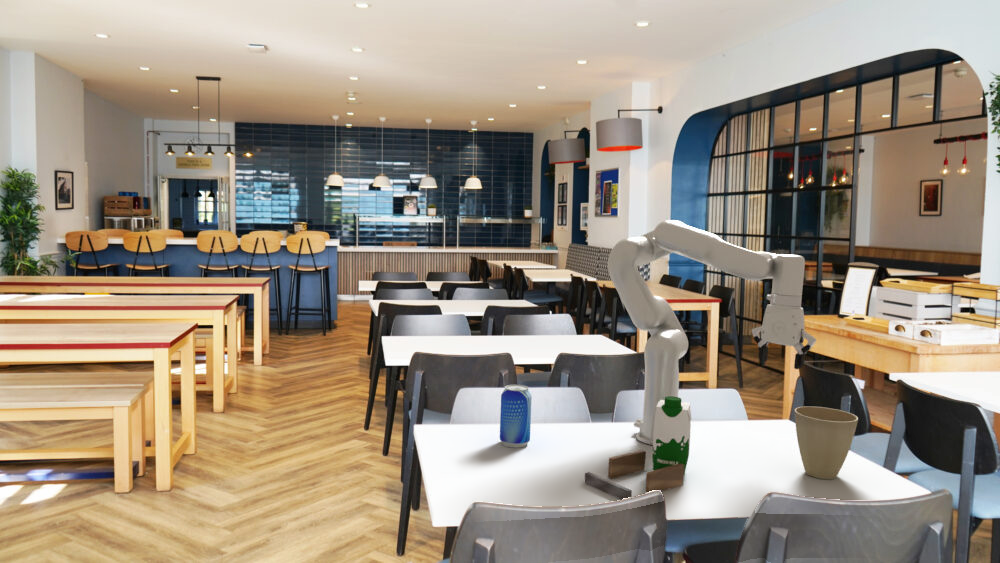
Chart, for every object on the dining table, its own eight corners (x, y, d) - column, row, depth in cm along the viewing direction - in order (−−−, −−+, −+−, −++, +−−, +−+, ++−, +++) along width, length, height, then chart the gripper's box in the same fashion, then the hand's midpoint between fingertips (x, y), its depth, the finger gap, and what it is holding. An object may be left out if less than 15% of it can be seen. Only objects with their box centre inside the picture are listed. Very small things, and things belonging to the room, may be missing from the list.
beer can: (494, 445, 210) (496, 388, 208) (506, 437, 218) (508, 382, 216) (523, 450, 207) (525, 392, 205) (533, 441, 215) (536, 386, 213)
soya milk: (649, 477, 189) (653, 398, 187) (654, 466, 197) (658, 390, 195) (685, 483, 186) (690, 402, 184) (689, 471, 194) (693, 394, 192)
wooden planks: (584, 483, 183) (585, 462, 183) (640, 468, 195) (641, 449, 195) (627, 501, 172) (628, 480, 172) (683, 485, 184) (685, 465, 184)
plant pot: (848, 489, 185) (853, 425, 184) (784, 476, 193) (789, 414, 191) (857, 472, 198) (861, 412, 196) (796, 460, 206) (800, 403, 204)
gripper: (748, 297, 205) (743, 360, 206) (812, 306, 192) (806, 373, 194) (761, 296, 210) (756, 357, 212) (824, 304, 198) (818, 369, 199)
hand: (780, 364), depth 203 cm, fingers open, 9 cm apart
